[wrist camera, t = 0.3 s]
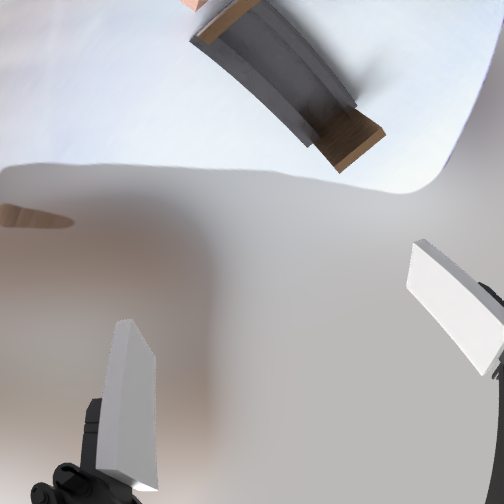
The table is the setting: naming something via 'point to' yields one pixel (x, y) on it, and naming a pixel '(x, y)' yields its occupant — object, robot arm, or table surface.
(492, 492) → the robot arm
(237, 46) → the door track
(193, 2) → the door panel
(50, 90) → the table surface
